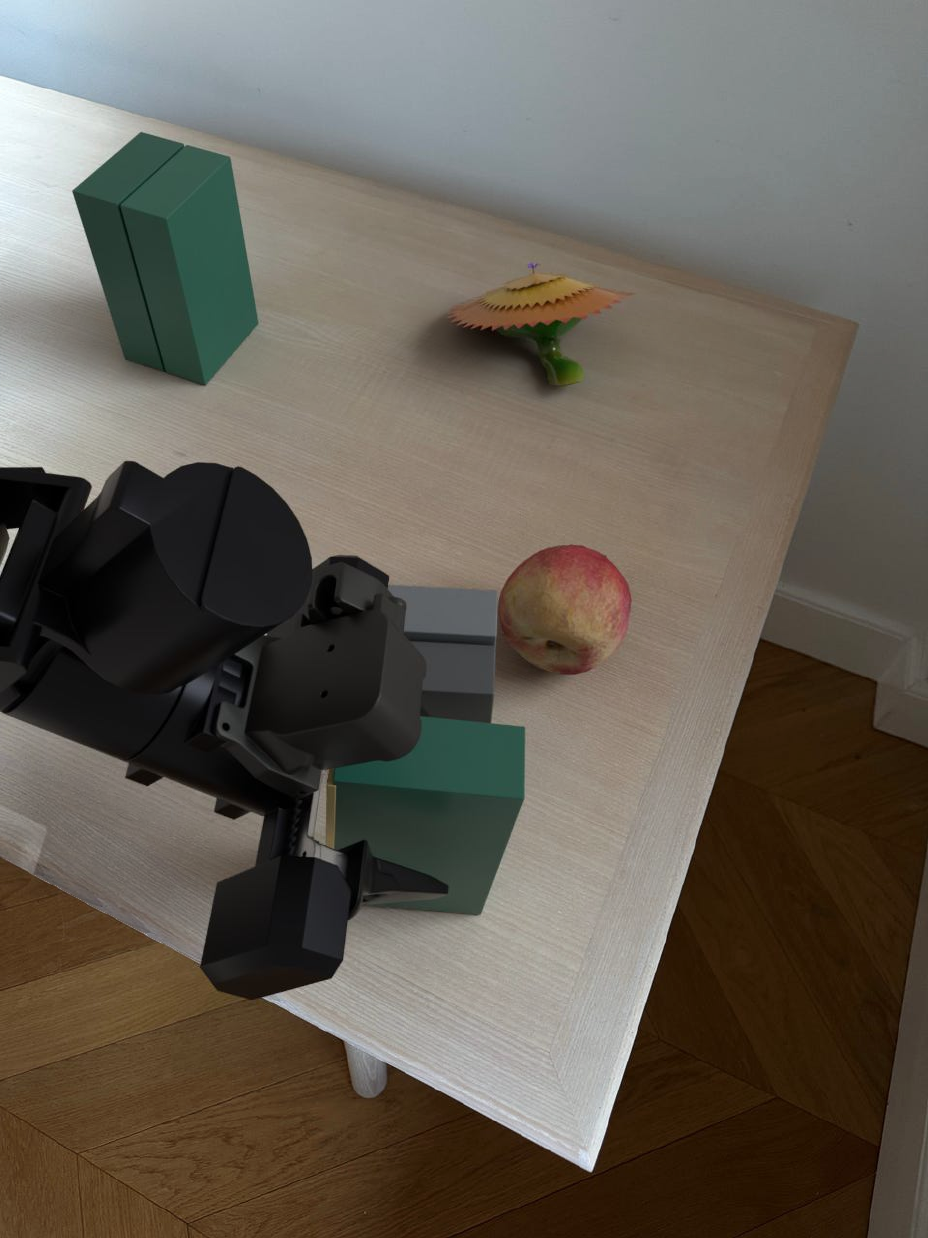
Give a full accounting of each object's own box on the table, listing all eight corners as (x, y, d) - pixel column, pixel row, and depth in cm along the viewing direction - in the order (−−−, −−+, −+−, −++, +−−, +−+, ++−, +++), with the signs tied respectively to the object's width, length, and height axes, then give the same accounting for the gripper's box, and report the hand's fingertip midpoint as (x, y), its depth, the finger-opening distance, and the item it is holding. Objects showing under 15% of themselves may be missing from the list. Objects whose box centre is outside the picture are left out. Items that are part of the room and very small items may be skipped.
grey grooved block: (347, 767, 58) (334, 680, 50) (358, 675, 62) (348, 581, 54) (485, 774, 58) (494, 689, 50) (489, 682, 61) (498, 589, 54)
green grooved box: (205, 385, 76) (166, 218, 64) (124, 358, 77) (71, 190, 66) (259, 323, 80) (230, 156, 69) (181, 298, 82) (140, 131, 70)
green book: (324, 902, 53) (326, 781, 41) (333, 838, 55) (337, 706, 43) (481, 916, 53) (524, 800, 42) (483, 852, 55) (525, 725, 44)
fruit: (471, 645, 63) (476, 566, 56) (552, 577, 66) (566, 495, 60) (565, 723, 60) (582, 649, 53) (645, 647, 63) (670, 569, 57)
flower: (674, 345, 80) (661, 232, 76) (597, 396, 70) (578, 270, 67) (515, 356, 88) (496, 255, 85) (428, 403, 79) (403, 293, 75)
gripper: (222, 876, 28) (582, 1001, 37) (313, 415, 39) (576, 594, 48) (46, 949, 35) (385, 1041, 44) (166, 539, 46) (419, 676, 54)
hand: (447, 822), depth 47 cm, fingers closed on green book, 6 cm apart
